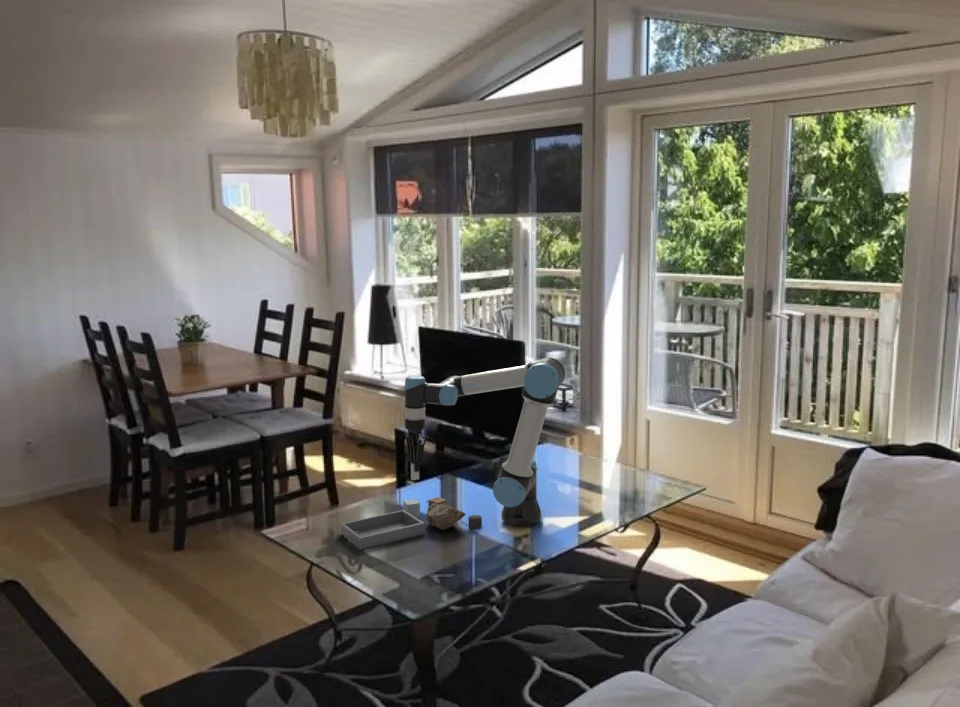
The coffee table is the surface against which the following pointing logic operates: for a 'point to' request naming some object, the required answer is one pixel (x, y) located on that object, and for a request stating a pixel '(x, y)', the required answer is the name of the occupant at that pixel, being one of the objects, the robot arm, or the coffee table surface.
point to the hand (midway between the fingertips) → (415, 479)
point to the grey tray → (383, 529)
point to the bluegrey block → (412, 507)
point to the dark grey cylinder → (475, 521)
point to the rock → (443, 516)
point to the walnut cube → (437, 501)
